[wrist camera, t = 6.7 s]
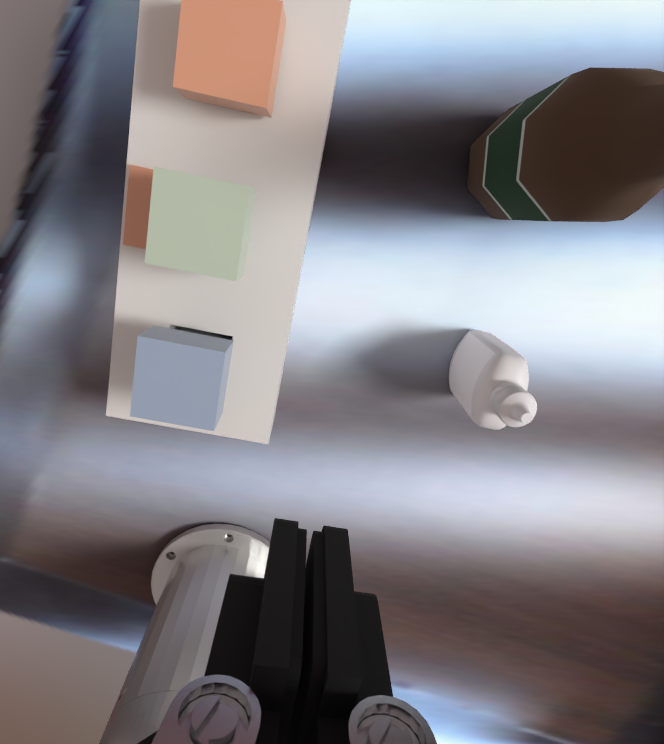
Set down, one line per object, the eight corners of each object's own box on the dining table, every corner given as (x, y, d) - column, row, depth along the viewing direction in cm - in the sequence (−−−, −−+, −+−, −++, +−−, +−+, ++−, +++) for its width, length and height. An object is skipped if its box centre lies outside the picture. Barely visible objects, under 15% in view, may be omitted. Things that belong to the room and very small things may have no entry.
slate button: (234, 389, 40) (213, 431, 32) (166, 376, 39) (129, 416, 32) (244, 324, 38) (225, 352, 31) (174, 311, 38) (137, 335, 30)
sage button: (253, 267, 37) (236, 281, 29) (181, 252, 37) (144, 263, 29) (265, 192, 35) (250, 187, 28) (190, 176, 35) (153, 166, 27)
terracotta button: (277, 130, 36) (266, 108, 28) (204, 113, 36) (172, 86, 28) (291, 47, 35) (282, 1, 27) (214, 29, 34) (183, -24, 27)
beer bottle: (533, 239, 39) (832, 277, 16) (443, 197, 38) (628, 174, 15) (587, 138, 37) (1014, 18, 14) (493, 90, 36) (792, -121, 13)
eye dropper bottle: (427, 369, 42) (467, 428, 31) (477, 319, 41) (538, 361, 30) (463, 402, 43) (515, 471, 32) (513, 355, 42) (586, 408, 31)
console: (274, 418, 43) (267, 445, 38) (130, 392, 42) (104, 417, 37) (348, 14, 35) (353, -20, 29) (170, -30, 34) (143, -73, 29)
